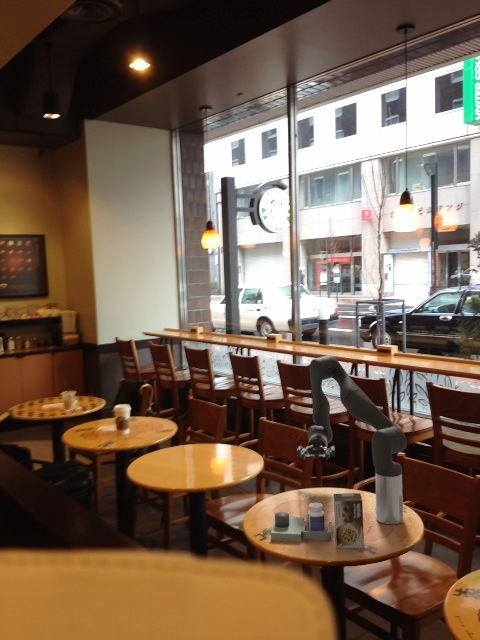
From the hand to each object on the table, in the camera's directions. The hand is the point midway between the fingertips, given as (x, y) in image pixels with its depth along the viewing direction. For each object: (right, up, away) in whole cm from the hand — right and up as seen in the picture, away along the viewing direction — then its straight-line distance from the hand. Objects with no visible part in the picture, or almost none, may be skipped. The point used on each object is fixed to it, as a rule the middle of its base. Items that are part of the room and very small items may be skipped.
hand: (314, 456), depth 216 cm
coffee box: (+8, -23, -24) cm, 35 cm away
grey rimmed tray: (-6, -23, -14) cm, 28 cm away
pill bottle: (-1, -23, -15) cm, 27 cm away
